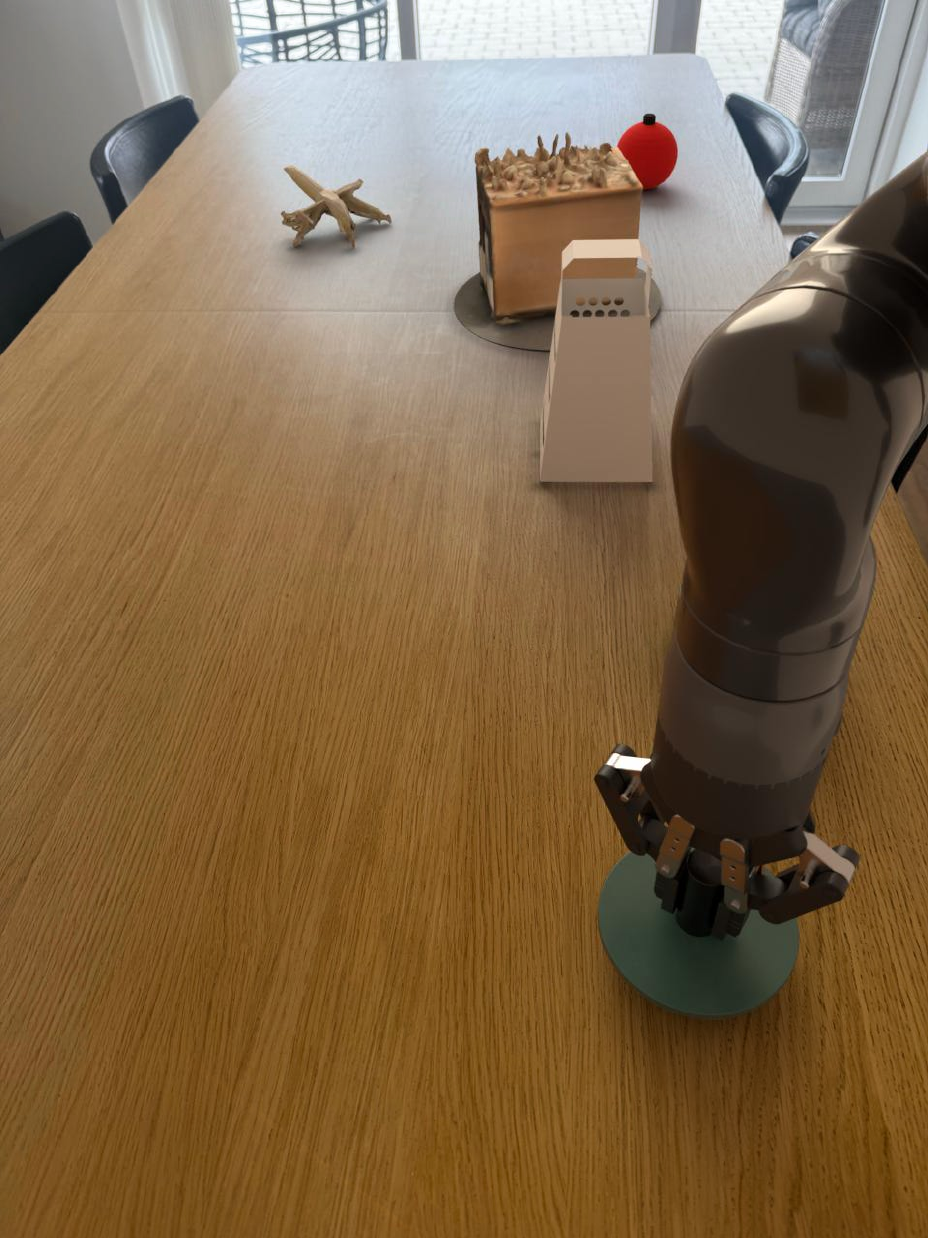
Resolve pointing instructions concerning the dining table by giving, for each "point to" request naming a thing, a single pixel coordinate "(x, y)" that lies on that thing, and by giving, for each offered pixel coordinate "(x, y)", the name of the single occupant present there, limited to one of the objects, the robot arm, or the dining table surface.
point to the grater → (599, 376)
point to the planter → (547, 238)
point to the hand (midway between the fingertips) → (699, 912)
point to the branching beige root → (328, 207)
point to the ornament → (649, 151)
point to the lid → (691, 942)
